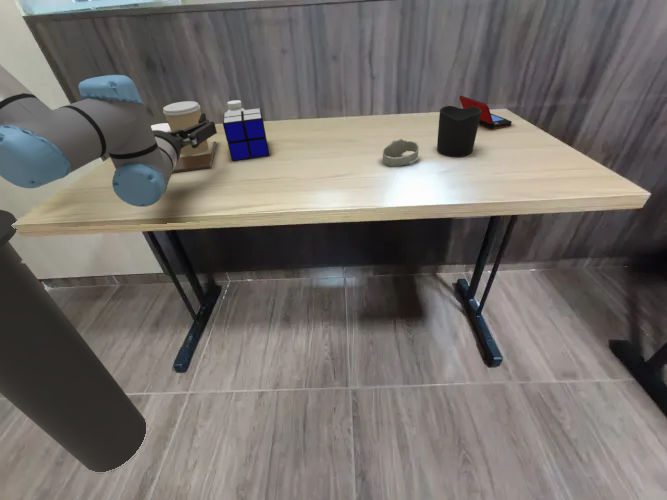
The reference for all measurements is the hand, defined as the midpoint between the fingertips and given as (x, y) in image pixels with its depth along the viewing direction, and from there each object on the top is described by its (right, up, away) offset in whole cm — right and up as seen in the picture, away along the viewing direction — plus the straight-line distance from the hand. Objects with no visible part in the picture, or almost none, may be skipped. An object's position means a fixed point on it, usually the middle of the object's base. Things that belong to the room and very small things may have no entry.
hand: (176, 122), depth 86 cm
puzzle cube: (+15, -4, +12) cm, 20 cm away
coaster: (-16, +4, +26) cm, 31 cm away
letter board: (-6, -7, +11) cm, 14 cm away
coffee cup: (-1, -3, +13) cm, 14 cm away
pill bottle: (+9, +5, +24) cm, 27 cm away
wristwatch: (+55, -10, +1) cm, 56 cm away
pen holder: (+69, -6, +4) cm, 70 cm away
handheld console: (+83, +7, +19) cm, 85 cm away
